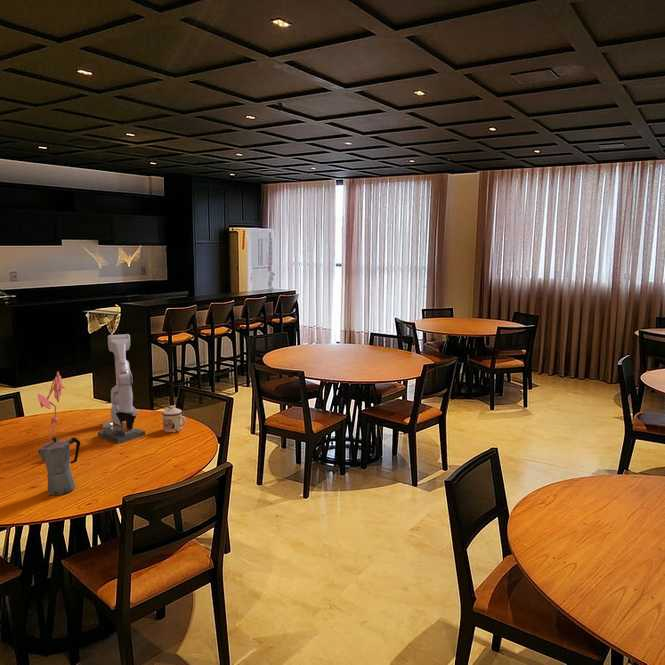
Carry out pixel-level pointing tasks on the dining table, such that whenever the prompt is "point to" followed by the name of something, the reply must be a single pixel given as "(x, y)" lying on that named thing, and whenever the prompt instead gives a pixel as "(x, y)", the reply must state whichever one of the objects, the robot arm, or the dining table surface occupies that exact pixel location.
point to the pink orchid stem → (47, 403)
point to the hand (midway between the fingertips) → (127, 428)
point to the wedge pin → (125, 426)
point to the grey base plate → (119, 433)
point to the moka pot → (59, 465)
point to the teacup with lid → (172, 419)
